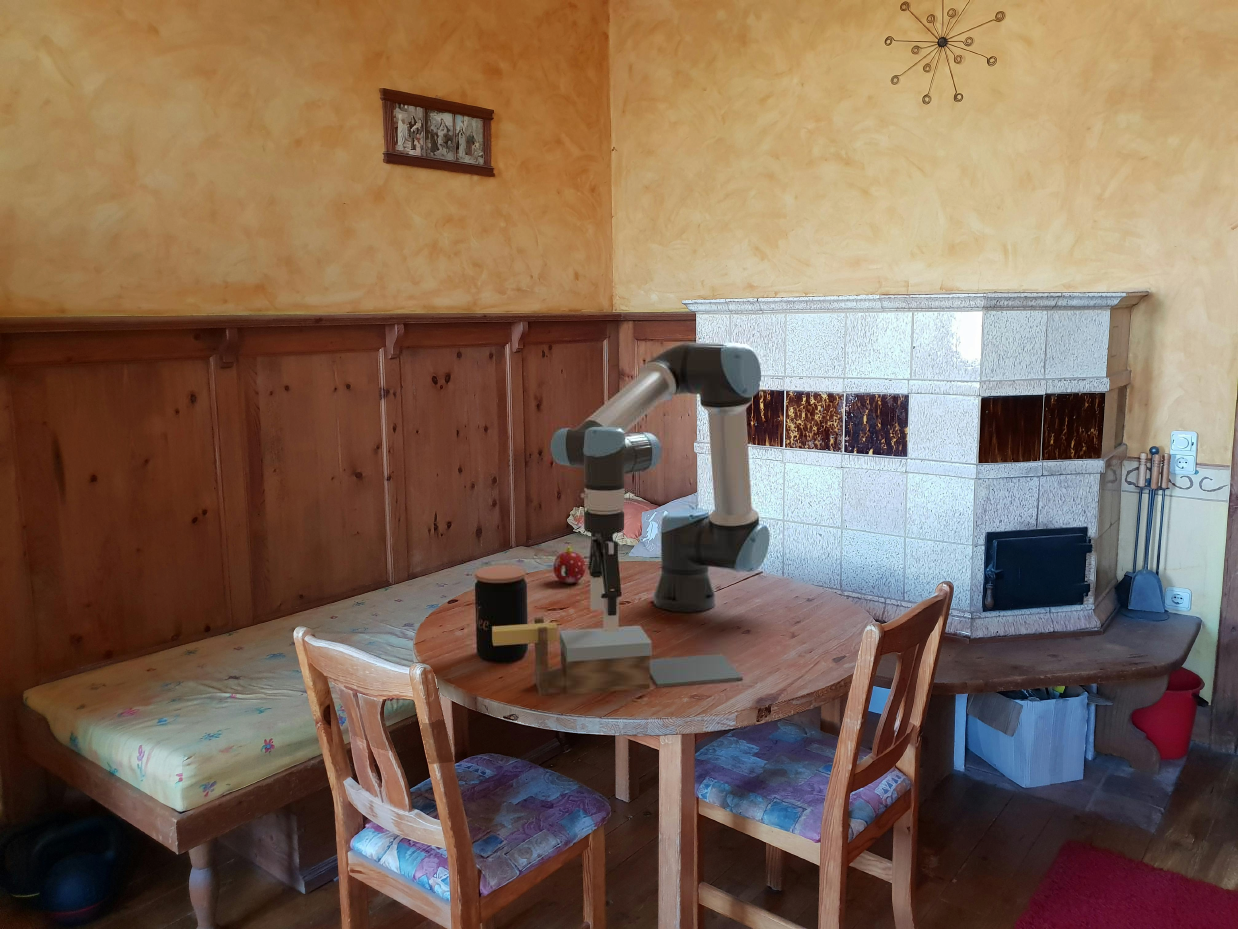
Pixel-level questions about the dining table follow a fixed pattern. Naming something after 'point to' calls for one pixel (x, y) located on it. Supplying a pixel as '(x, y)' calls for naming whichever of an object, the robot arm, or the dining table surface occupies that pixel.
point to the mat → (692, 670)
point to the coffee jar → (500, 610)
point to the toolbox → (587, 671)
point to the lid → (605, 643)
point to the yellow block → (522, 633)
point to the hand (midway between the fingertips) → (603, 620)
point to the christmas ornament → (569, 567)
